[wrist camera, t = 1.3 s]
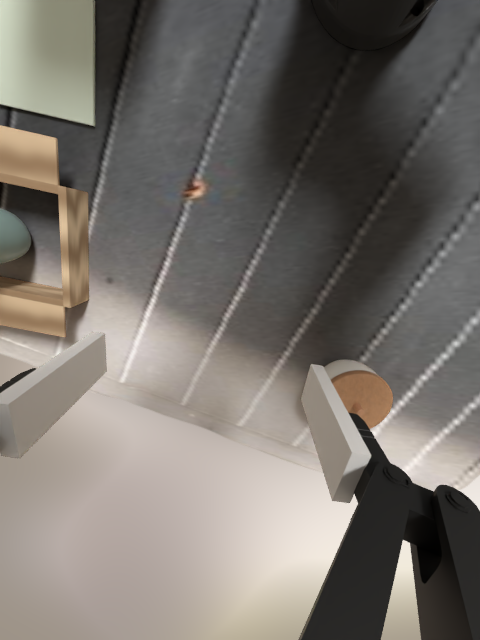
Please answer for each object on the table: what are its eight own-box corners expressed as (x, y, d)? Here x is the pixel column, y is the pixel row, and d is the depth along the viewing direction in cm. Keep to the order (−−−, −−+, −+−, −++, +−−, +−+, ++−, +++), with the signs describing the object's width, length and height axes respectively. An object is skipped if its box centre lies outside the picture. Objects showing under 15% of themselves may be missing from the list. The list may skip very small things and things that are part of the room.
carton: (-83, 112, 32) (-134, 95, 28) (87, 151, 33) (64, 139, 29) (-45, 301, 41) (-78, 309, 37) (89, 327, 42) (71, 338, 38)
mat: (-14, -27, 27) (-17, -30, 27) (95, 1, 28) (93, -2, 28) (0, 104, 32) (-3, 103, 31) (95, 126, 32) (93, 125, 32)
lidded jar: (307, 402, 46) (322, 443, 37) (307, 351, 42) (323, 383, 34) (366, 399, 45) (395, 439, 37) (371, 346, 42) (404, 377, 33)
